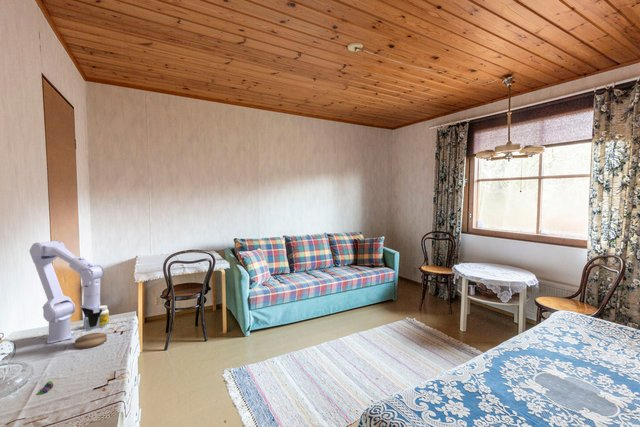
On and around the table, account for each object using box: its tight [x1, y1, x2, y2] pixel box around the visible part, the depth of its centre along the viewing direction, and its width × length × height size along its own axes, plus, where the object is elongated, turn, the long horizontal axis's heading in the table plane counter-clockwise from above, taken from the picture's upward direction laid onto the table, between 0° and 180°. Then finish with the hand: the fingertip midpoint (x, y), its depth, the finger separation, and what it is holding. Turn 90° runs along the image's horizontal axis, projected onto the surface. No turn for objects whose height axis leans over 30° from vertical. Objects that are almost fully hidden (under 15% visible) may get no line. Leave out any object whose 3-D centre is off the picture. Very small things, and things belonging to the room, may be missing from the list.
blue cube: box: [83, 316, 100, 332], centre depth 128 cm, size 4×4×4 cm
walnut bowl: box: [74, 332, 107, 350], centre depth 128 cm, size 11×11×2 cm
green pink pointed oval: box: [35, 380, 54, 396], centre depth 96 cm, size 4×3×2 cm, turn 15°
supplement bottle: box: [99, 305, 110, 328], centre depth 145 cm, size 5×5×10 cm
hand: (91, 324), depth 128 cm, fingers closed on blue cube, 4 cm apart
